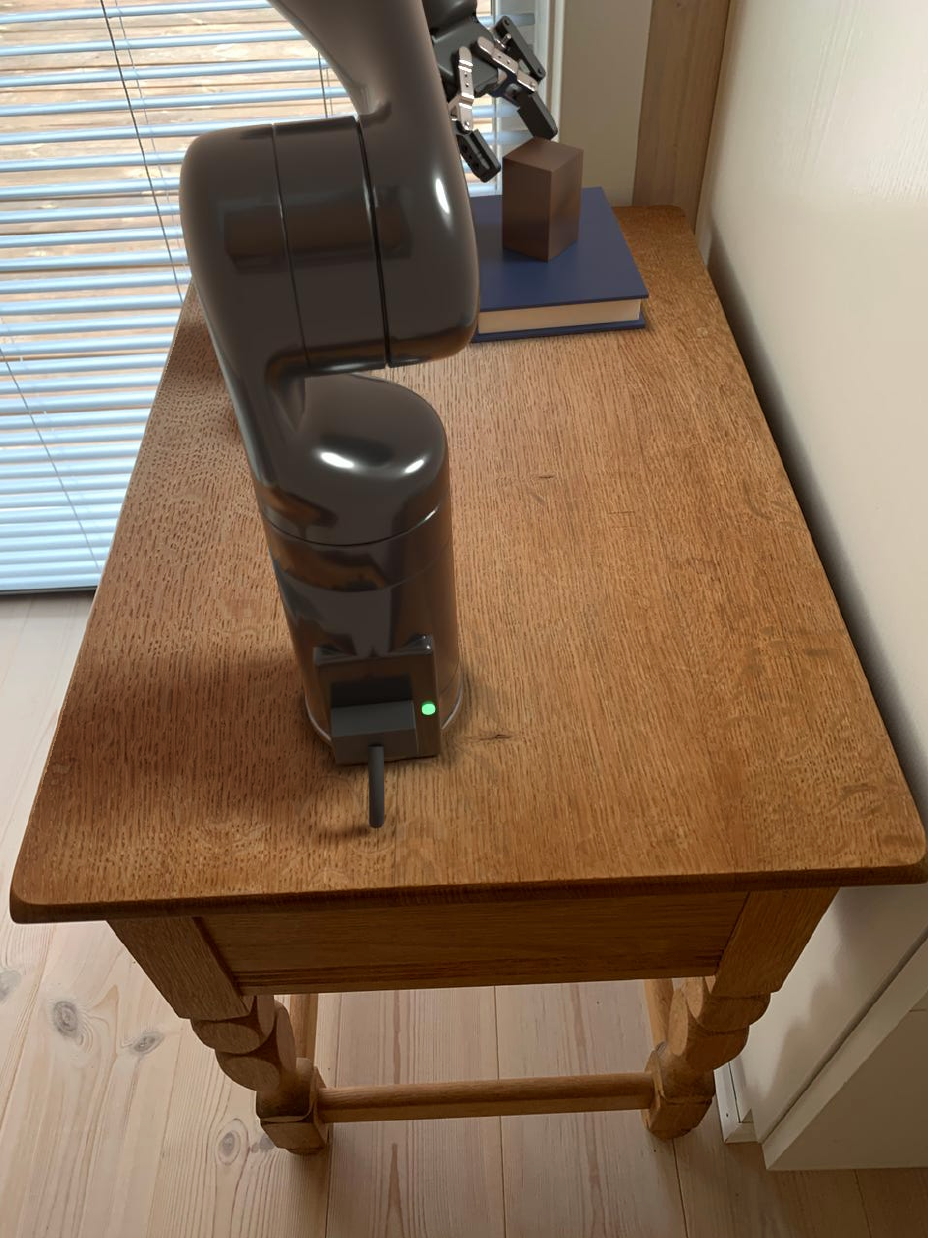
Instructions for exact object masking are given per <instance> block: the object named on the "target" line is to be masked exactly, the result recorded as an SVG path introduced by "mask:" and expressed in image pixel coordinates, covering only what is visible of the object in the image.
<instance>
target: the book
mask: <svg viewBox="0 0 928 1238" xmlns="http://www.w3.org/2000/svg"><path fill="white" fill-rule="evenodd" d="M470 199H471V204H472V209H473V214H474V220H475V226H476V232H477V239H478V248H479V258H480V270H481V302H480V312H479V317H478V321H477V325H476V329H475V332H474V334H473V336H472V338H471V340H470V343H473V344H474V343H481V342H482V343H483V342H484V343H485V342H495V341H496V342H497V341H509V340H517V339H518V340H519V339H530V338H531V339H532V338H540V337H541V338H542V337H553V336H563V335H564V336H565V335H575V334H576V335H577V334H587V333H598V332H599V333H601V332H610V331H621V330H634V329H645V328H646V325H647V324H646V321H645V319H644V316H643V314H642V311H641V309H640V308H641V301H642V300H645V299H650V293H649V290H648V287H647V285H646V283H645V282H644V278H643V277H642V275H641V272H640V270H639V268H638V265H637V264H636V261H635V259H634V257H633V254H632V252H631V250H630V248H629V245H628V243H627V241H626V238H625V236H624V234H623V232H622V229H621V227H620V225H619V222H618V220H617V217H616V216H615V213H614V212H613V209H612V207H611V205H610V202H609V200H608V198H607V194H606V193H605V190H604V189H603V186H590V187H581V203H580V219H579V236H578V240H576V241H575V242H574V243H572V244H571V245H570V246H568V247H567V248H566V249H564V250H563V251H562V252H561V253H559V254H558V255H557V256H555V257H554V258H553V259H551V260H550V261H549V262H546V261H543V260H540V259H537V258H534V257H531V256H528V255H525V254H523V253H520V252H517V251H514V250H511V249H508V248H505V247H502V193H501V194H490V195H476V196H470Z"/></svg>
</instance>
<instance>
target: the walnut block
mask: <svg viewBox="0 0 928 1238" xmlns="http://www.w3.org/2000/svg"><path fill="white" fill-rule="evenodd" d="M584 153H585V150H584V149H583V148H579V147H576V146H573V145H569V144H565V143H562V142H559V141H555V140H552V139H551V140H548V139H544V138H540V137H537V136H534V137H533V136H532V137H531V138H530V139H528V140H527V141H525V142H524V143H522V144H520V145H518V146H517V147H515V148H514V149H512V150H511V151H509V152H508V153H506V154H504V155H503V156H502V157H501V194H502V247H505V248H508V249H511V250H514V251H517V252H520V253H523V254H525V255H528V256H531V257H534V258H537V259H540V260H543V261H546V262H549V261H550V260H551V259H553V258H554V257H555V256H557V255H558V254H559V253H561V252H562V251H563V250H564V249H566V248H567V247H568V246H570V245H571V244H572V243H574V242H575V241H576V240H578V236H579V219H580V203H581V188H582V186H583V185H582V184H583V170H584V169H583V168H584Z"/></svg>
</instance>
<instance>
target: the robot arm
mask: <svg viewBox="0 0 928 1238" xmlns="http://www.w3.org/2000/svg"><path fill="white" fill-rule="evenodd" d="M265 1H266V3H268V4H269V5H270V6H271V7H272V8H273V9H274V10H275V11H276V12H277V13H278V14H279V15H281V17H282V18H284V19H285V20H286V21H287V22H288V23H289V24H290V25H291V26H292V27H293V28H294V29H295V30H296V31H297V32H298V33H299V34H301V36H302V37H303V38H304V39H305V40H306V41H308V43H309V44H310V45H311V46H312V47H313V48H314V49H315V50H316V51H317V52H318V54H319V55H320V56H321V57H322V58H323V60H324V61H325V63H326V64H327V65H328V66H329V68H330V69H331V70H332V73H334V75H335V77H336V78H337V80H338V81H339V83H340V84H341V86H342V87H343V89H344V91H345V92H346V94H347V97H348V98H349V100H350V102H351V105H352V106H353V108H354V109H355V112H356V114H357V116H356V117H355V116H354V115H344V116H342V115H341V116H332V117H322V118H313V119H312V118H311V119H301V120H292V121H291V120H290V121H281V122H273V123H259V124H252V125H241V126H234V127H227V128H226V127H225V128H218V129H214V130H211V131H207V132H204V133H201V134H200V135H198V136H197V137H195V138H194V139H193V140H192V142H190V144H189V145H188V147H187V149H186V152H185V154H184V156H183V158H182V161H181V166H180V171H179V179H178V180H179V182H178V210H179V219H180V227H181V232H182V235H183V236H182V237H183V243H184V248H185V252H186V258H187V262H188V266H189V267H188V268H189V271H190V274H191V279H192V281H193V284H194V288H195V292H196V296H197V299H198V303H199V306H200V309H201V313H202V316H203V318H204V321H205V324H206V328H207V331H208V334H209V337H210V340H211V342H212V346H213V349H214V351H215V352H214V353H215V355H216V358H217V362H218V364H219V366H220V370H221V373H222V376H223V379H224V382H225V386H226V389H227V392H228V396H229V399H230V402H231V406H232V409H233V413H234V415H235V419H236V423H237V426H238V430H239V434H240V438H241V442H242V446H243V451H244V454H245V457H246V461H247V465H248V470H249V473H250V478H251V482H252V486H253V491H254V494H255V498H256V503H257V507H258V511H259V515H260V519H261V522H262V527H263V531H264V535H265V540H266V543H267V548H268V553H269V556H270V560H271V564H272V569H273V572H274V576H275V580H276V584H277V588H278V591H279V596H280V600H281V604H282V605H281V606H282V609H283V612H284V617H285V620H286V624H287V629H288V632H289V636H290V641H291V644H292V645H291V646H292V648H293V652H294V656H295V660H296V664H297V669H298V672H299V677H300V680H301V684H302V688H303V690H304V691H303V692H304V699H305V707H306V710H307V714H308V718H309V721H310V724H311V726H312V728H313V730H314V732H316V734H317V735H318V737H319V738H320V739H321V740H322V742H324V743H325V744H326V745H328V746H329V747H330V748H332V752H333V756H334V757H333V758H334V761H335V764H336V765H337V766H346V765H347V766H348V765H355V764H357V765H358V764H366V763H367V764H368V765H367V766H368V824H369V826H370V827H371V828H372V829H381V828H382V827H383V826H384V825H385V762H391V761H398V760H403V759H411V758H412V759H413V758H420V757H421V758H422V757H431V756H438V755H441V754H442V753H443V751H444V746H443V745H444V744H443V739H444V737H445V736H446V735H447V734H448V733H449V731H450V730H451V729H452V728H453V726H454V725H455V723H456V721H457V719H458V717H459V715H460V712H461V709H462V706H463V699H464V685H463V676H462V672H461V661H460V647H459V630H458V629H459V627H458V609H457V592H456V573H455V571H456V570H455V552H454V536H453V535H454V532H453V512H452V509H453V508H452V491H451V490H452V489H451V488H452V487H451V468H450V467H451V466H450V450H449V449H450V448H449V442H448V435H447V432H446V429H445V426H444V423H443V421H442V419H441V417H440V415H439V413H438V412H437V410H436V409H435V408H434V407H433V405H431V403H429V401H427V400H426V399H425V398H424V397H423V396H421V395H419V394H418V393H417V392H415V391H414V390H412V389H410V388H408V387H406V386H404V385H402V384H399V383H398V382H394V381H392V380H389V379H386V378H382V377H379V376H375V375H371V374H370V375H369V374H368V373H367V374H366V373H362V372H371V371H378V370H385V369H386V368H387V367H388V368H389V369H395V368H402V367H403V368H404V367H411V366H416V365H424V364H428V363H434V362H439V361H443V360H445V359H448V358H452V357H454V356H456V355H458V354H459V353H461V352H462V351H463V350H464V349H465V348H466V347H467V346H468V344H469V343H471V338H472V336H473V334H474V332H475V329H476V325H477V321H478V317H479V312H480V302H481V270H480V258H479V248H478V239H477V232H476V226H475V220H474V214H473V209H472V204H471V199H470V197H471V196H470V195H471V194H470V191H469V185H468V182H467V178H466V174H465V169H464V164H463V161H464V163H466V164H467V167H468V168H469V169H470V171H471V173H472V174H473V175H474V176H475V177H476V178H477V179H479V180H480V182H482V183H483V184H486V183H489V181H491V180H493V178H494V177H495V176H497V175H498V174H499V173H500V172H502V163H501V162H500V161H499V159H498V157H497V156H496V154H495V153H494V151H493V150H492V149H491V147H490V146H489V144H488V142H487V140H486V139H485V138H484V136H483V134H482V133H481V131H480V130H479V128H476V129H474V127H475V125H474V117H473V108H472V107H473V104H474V101H475V99H481V98H482V97H484V96H486V95H488V96H490V97H491V98H493V99H498V98H502V99H503V100H505V101H506V102H508V103H509V104H511V105H513V106H514V107H516V108H518V109H517V110H516V112H517V114H518V116H519V117H520V119H521V121H522V122H523V123H524V125H525V127H526V129H527V130H528V131H529V133H530V135H531V136H532V138H533V137H534V136H537V137H540V138H544V139H548V140H551V141H552V140H553V139H554V138H556V136H557V135H558V134H559V128H558V126H557V123H556V120H555V118H554V117H553V115H552V114H551V112H550V111H549V109H548V108H547V106H546V104H545V102H544V101H543V100H542V98H541V96H540V95H539V86H540V84H541V82H542V81H543V80H544V79H545V78H546V76H547V72H546V69H545V68H544V66H543V65H542V63H541V61H540V60H539V59H538V58H537V56H536V54H535V52H533V50H532V48H531V47H530V46H529V44H528V42H527V41H526V40H525V37H523V35H522V33H521V32H520V31H519V30H518V28H517V26H516V25H515V23H514V22H513V20H512V19H511V18H510V17H509V16H508V15H502V16H501V17H500V19H499V20H498V21H497V22H495V24H494V25H493V26H492V27H490V28H489V29H488V28H487V27H486V26H485V25H483V24H482V22H480V20H479V19H478V15H477V9H478V3H479V2H478V0H265ZM521 61H522V62H523V63H524V65H525V67H526V68H527V69H528V71H529V72H528V73H525V72H524V70H523V69H522V66H520V62H521ZM499 70H500V71H501V73H500V72H499ZM511 85H515V86H517V88H516V89H515V87H513V86H511ZM462 159H463V160H462Z"/></svg>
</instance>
